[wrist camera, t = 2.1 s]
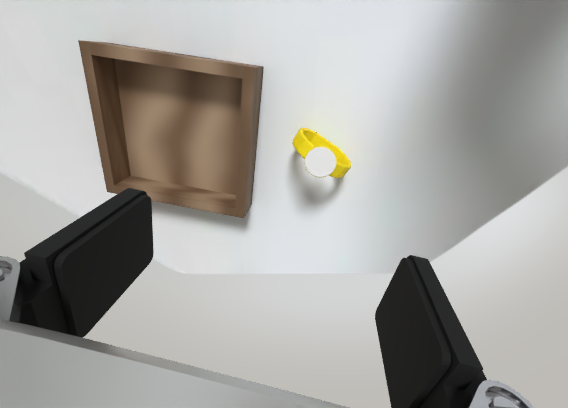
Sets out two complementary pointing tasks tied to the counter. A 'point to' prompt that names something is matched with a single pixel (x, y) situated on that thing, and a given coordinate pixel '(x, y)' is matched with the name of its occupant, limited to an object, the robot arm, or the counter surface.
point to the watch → (320, 155)
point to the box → (175, 125)
